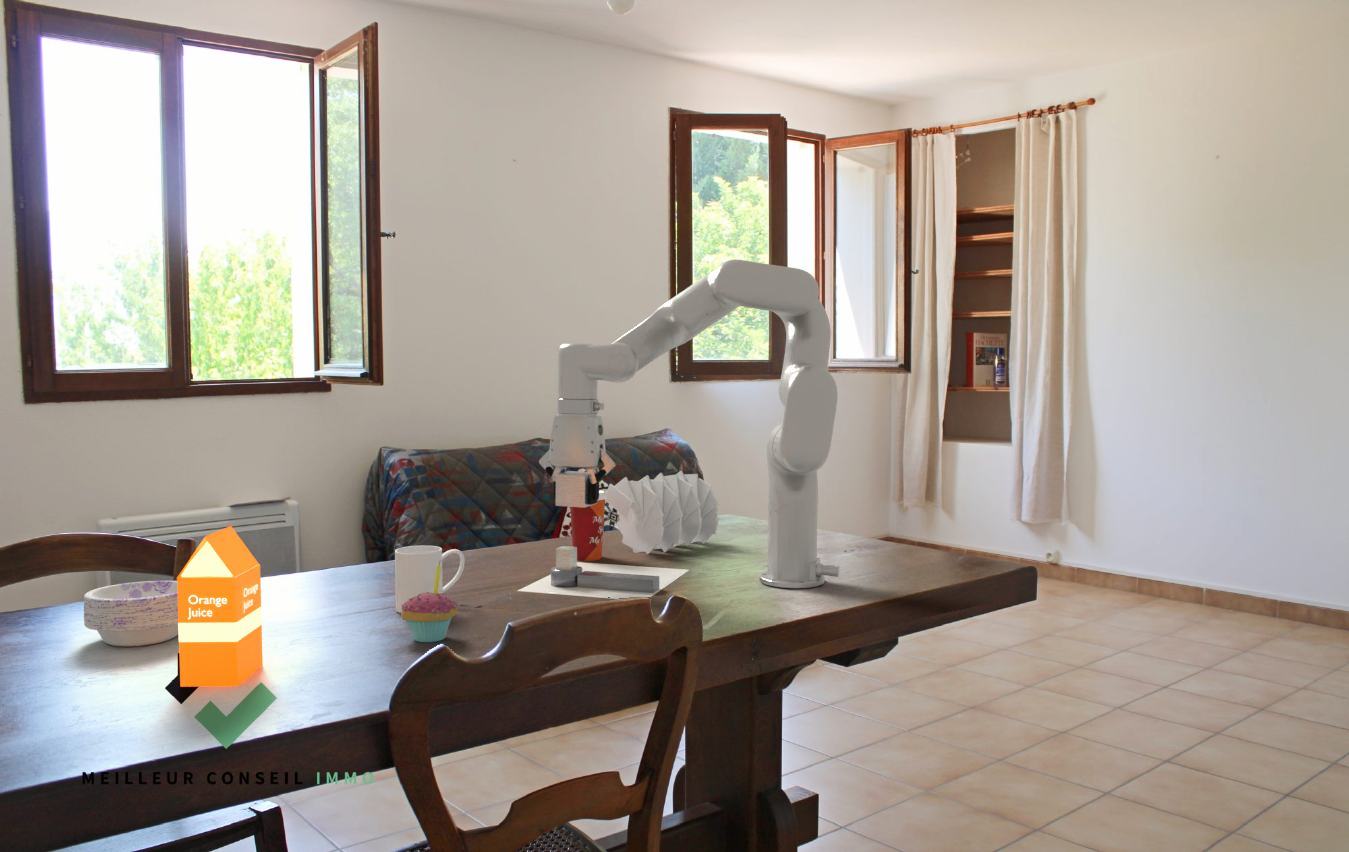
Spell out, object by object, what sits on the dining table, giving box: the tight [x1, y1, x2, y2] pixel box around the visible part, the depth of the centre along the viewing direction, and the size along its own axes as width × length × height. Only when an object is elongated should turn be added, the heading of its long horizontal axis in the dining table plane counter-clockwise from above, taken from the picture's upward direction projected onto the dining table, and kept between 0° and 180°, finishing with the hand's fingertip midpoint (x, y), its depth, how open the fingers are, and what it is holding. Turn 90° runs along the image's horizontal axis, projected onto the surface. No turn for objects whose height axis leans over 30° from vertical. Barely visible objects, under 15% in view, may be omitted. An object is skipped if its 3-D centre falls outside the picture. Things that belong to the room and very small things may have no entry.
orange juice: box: [176, 525, 264, 688], centre depth 136 cm, size 8×9×20 cm
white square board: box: [517, 561, 690, 600], centre depth 194 cm, size 25×28×1 cm
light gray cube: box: [555, 470, 597, 508], centre depth 191 cm, size 6×6×6 cm
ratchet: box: [550, 545, 659, 593], centre depth 188 cm, size 21×6×7 cm, turn 73°
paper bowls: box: [83, 580, 179, 648], centre depth 154 cm, size 15×15×8 cm
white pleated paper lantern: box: [605, 470, 720, 555], centre depth 229 cm, size 18×18×25 cm
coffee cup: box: [569, 489, 606, 562], centre depth 216 cm, size 8×8×15 cm
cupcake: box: [400, 560, 458, 643], centre depth 155 cm, size 9×8×12 cm
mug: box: [394, 544, 466, 614], centre depth 174 cm, size 12×8×10 cm, turn 124°
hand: (576, 501), depth 191 cm, fingers closed on light gray cube, 6 cm apart
